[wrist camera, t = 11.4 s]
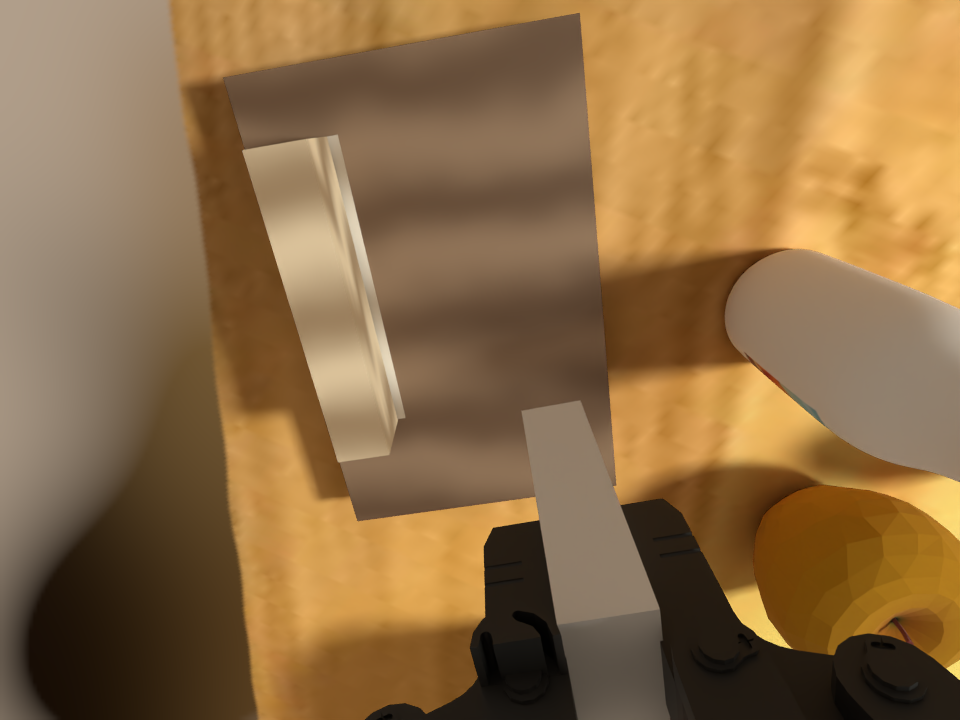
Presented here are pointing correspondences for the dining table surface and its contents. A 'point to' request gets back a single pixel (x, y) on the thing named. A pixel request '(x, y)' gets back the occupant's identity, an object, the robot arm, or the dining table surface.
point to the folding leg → (325, 292)
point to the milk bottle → (855, 354)
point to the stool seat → (460, 245)
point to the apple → (858, 572)
